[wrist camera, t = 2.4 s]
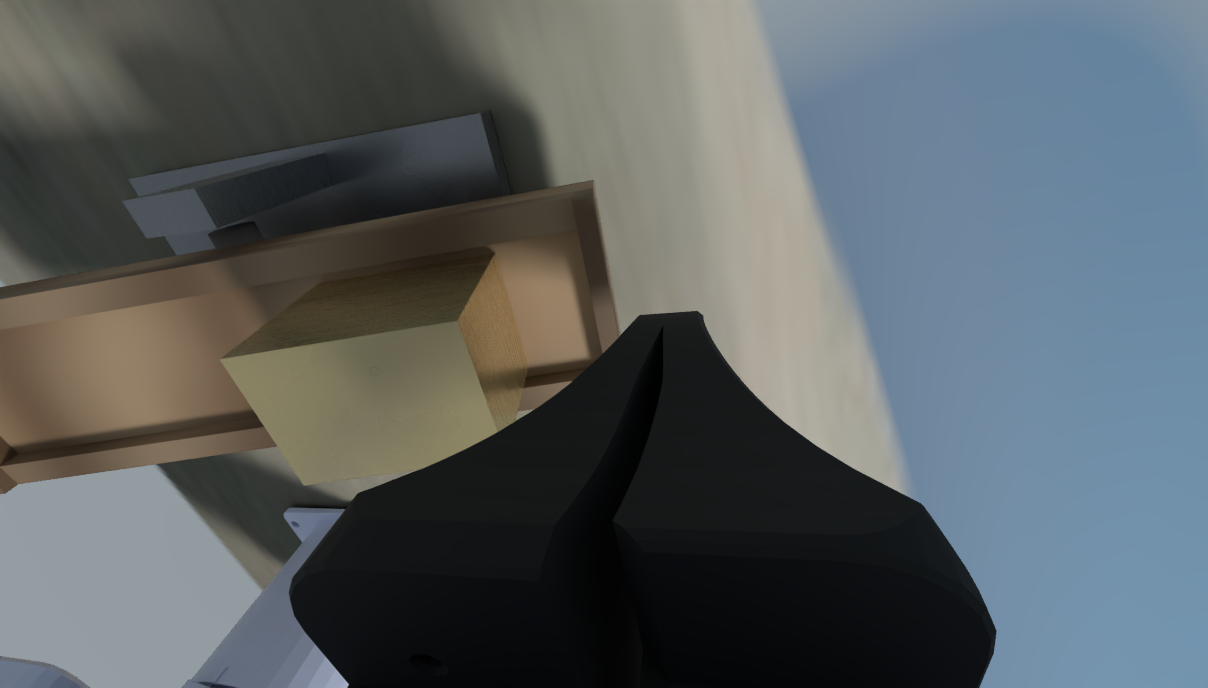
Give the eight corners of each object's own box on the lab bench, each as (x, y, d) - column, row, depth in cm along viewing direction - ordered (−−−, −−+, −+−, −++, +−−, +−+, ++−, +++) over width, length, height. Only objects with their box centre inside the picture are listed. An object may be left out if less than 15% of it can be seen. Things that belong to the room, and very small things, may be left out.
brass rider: (528, 365, 15) (506, 457, 11) (372, 389, 15) (303, 485, 12) (495, 252, 13) (457, 320, 9) (318, 283, 13) (219, 359, 10)
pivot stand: (560, 378, 20) (517, 476, 15) (281, 389, 23) (177, 473, 18) (490, 110, 15) (395, 138, 10) (149, 174, 18) (-37, 216, 14)
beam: (591, 158, 14) (589, 179, 11) (626, 360, 17) (631, 413, 14) (-66, 279, 15) (-204, 323, 13) (85, 442, 18) (1, 503, 16)
